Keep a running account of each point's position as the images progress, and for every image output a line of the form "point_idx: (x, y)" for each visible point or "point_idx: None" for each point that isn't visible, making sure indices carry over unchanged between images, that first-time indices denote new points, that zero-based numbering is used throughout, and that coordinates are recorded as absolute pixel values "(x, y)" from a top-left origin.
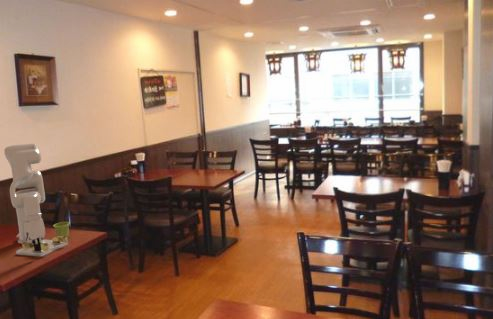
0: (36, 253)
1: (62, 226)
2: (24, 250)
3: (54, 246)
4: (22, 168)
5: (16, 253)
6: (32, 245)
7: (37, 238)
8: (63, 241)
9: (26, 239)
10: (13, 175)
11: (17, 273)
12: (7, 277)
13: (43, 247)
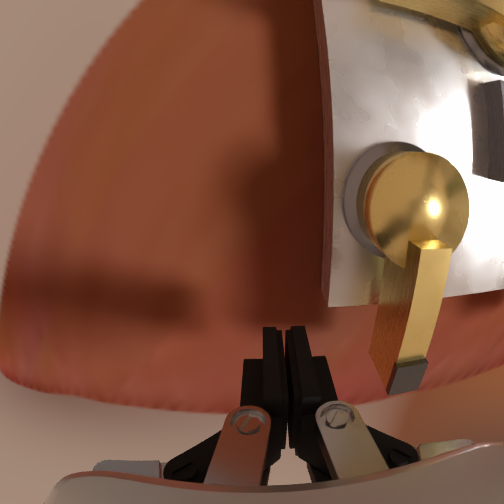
0: (330, 242)
1: None
2: (358, 16)
3: (493, 280)
4: None
5: None
6: (472, 32)
7: (359, 469)
8: None
9: (89, 478)
10: None
11: (42, 358)
12: (5, 341)
13: (390, 333)
